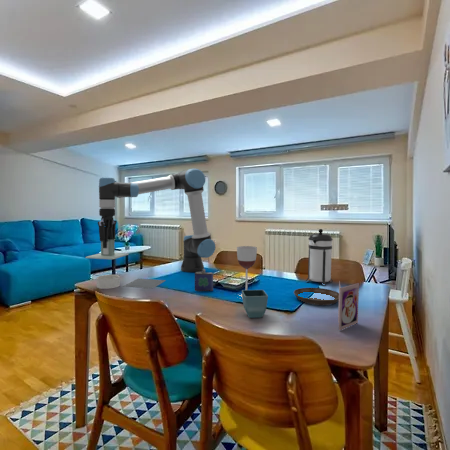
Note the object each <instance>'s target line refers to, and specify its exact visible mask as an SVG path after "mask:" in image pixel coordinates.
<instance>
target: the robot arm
mask: <svg viewBox="0 0 450 450" xmlns="http://www.w3.org/2000/svg"><path fill="white" fill-rule="evenodd" d="M205 183H206V176H205V174H204V172H203V171H202V170H200V169H198V168H189V169H188V168H187V169H185V170H184V169H183V170H181V171H178V172H176V173H171V174H169V175H168V176H163V177H156V178H151V179H143V180H139V181H138V180H137V181H132V182H118V181H116V180H115V178H114V177H108V176H107V177H106V176H105V177H100V178H99V181H98V195H99V196H98V197H99V198H98V199H99V200H98V201H99V202H98V204H99V205H98V207H99V209H98V210H99V211H98V212H99V213H98V214H99V216H100V217H101V218H100V221H97V226H98V234H99V241H100V243H101V242H103V254H105V255H108V254H109V242H107V241H108V239H110V240H114V241H115V239H116V228H117V227H116V226H117V220H115V219H114V216H116V209H115V208H116V198H117V199H118V198H119V199H121V198H137V197H138V196H139V195H142V194H149V193H154V192H159V191H165V190H171V191H175V190H183V192H184V194H185V195H187V200H188V207H189V212H190V213H189V214H190V220H191V224H192V225H191V226H192V231H193V234H191V235H184V236H183V259H182V262H181V265H180V271H182V272H184V273H196V272H202V271H203V269H205V265H204V262H203V259H204V258H205V259H207V258H210V257H212V256H213V255H214V253H215V252H216V243H215V241H214V240H213V239H212V237H211V233H209V232H208V227H207V221H206V213H205V207H204V200H203V192H204V187H205V186H204V185H205ZM202 258H203V259H202Z"/></svg>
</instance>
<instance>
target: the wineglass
mask: <svg viewBox="0 0 450 450" xmlns="http://www.w3.org/2000/svg"><path fill="white" fill-rule="evenodd" d="M257 254H258V248H257V247H256V246H252V245H251V246H249V245H240V246H237V247H236V256H237V261H238V262H237V263H238V264H239V265H240V266H241V267H242V268H243V269H245V289H244V290H248V277H249V276H248V271H249V269H250V268H251V267H253V266H254V265H255V263H256V260H257ZM240 294H241V295H239V294H238V295H239V296H241V297H242V293H240Z"/></svg>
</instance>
